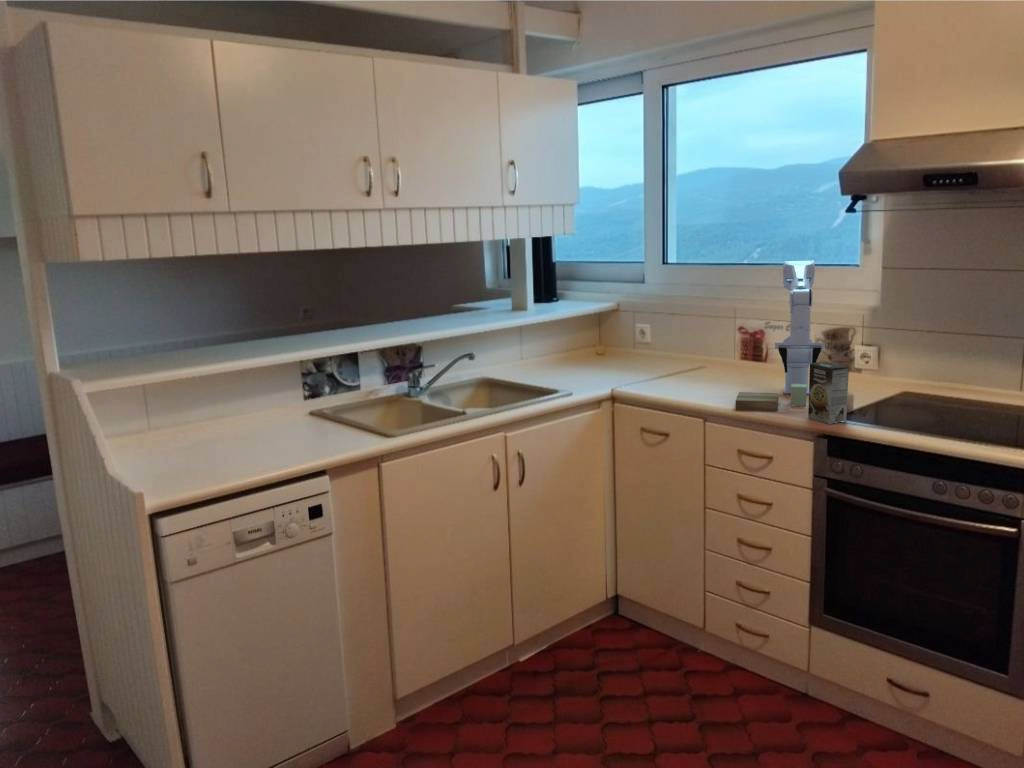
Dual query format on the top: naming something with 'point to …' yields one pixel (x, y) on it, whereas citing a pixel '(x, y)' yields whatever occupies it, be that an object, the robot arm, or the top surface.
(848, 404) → the tan round piece
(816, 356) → the robot arm
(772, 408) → the walnut base
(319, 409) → the top surface
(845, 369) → the coffee box
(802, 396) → the sage block
